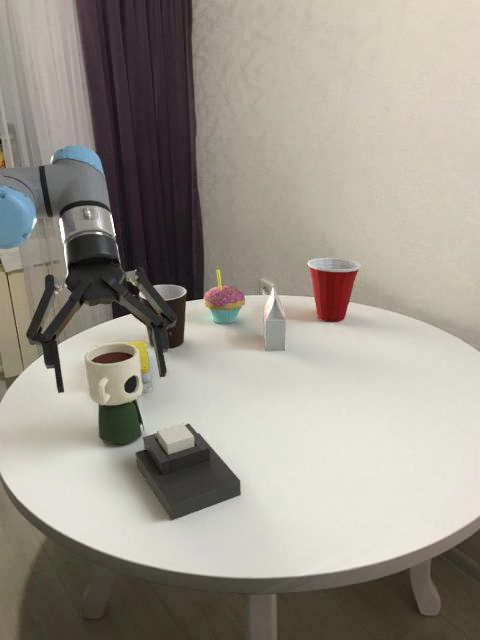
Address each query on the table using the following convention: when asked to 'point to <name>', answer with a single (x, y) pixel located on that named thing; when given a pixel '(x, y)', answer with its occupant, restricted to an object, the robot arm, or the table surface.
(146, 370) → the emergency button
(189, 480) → the button base
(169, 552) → the table surface
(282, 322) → the small milk carton
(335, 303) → the plastic cup
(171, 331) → the coffee mug
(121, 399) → the character mug
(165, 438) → the small white rectangular block
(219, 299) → the cupcake
